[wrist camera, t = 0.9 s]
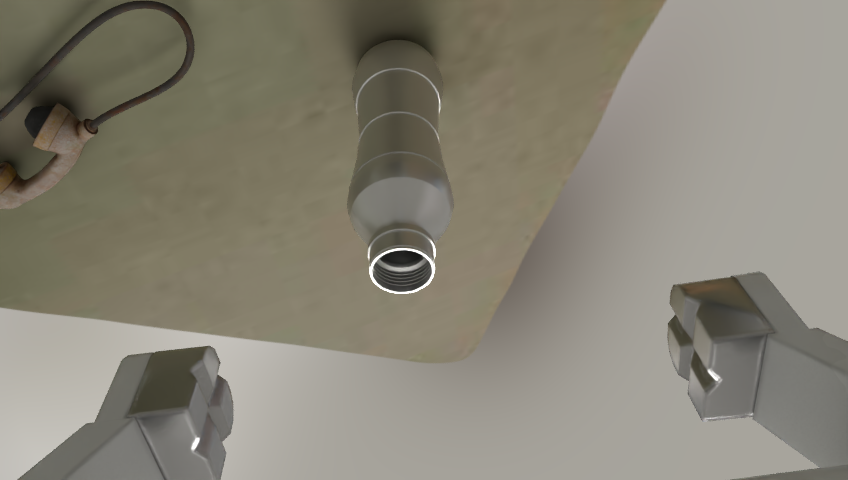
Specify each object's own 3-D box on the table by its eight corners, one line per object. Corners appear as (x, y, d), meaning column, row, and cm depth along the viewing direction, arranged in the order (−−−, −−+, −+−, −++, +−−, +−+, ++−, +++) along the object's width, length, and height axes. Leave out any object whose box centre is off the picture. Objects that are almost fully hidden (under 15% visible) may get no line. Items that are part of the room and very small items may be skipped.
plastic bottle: (444, 28, 51) (467, 227, 37) (438, 108, 56) (456, 311, 42) (352, 26, 51) (340, 225, 37) (353, 107, 55) (343, 310, 41)
